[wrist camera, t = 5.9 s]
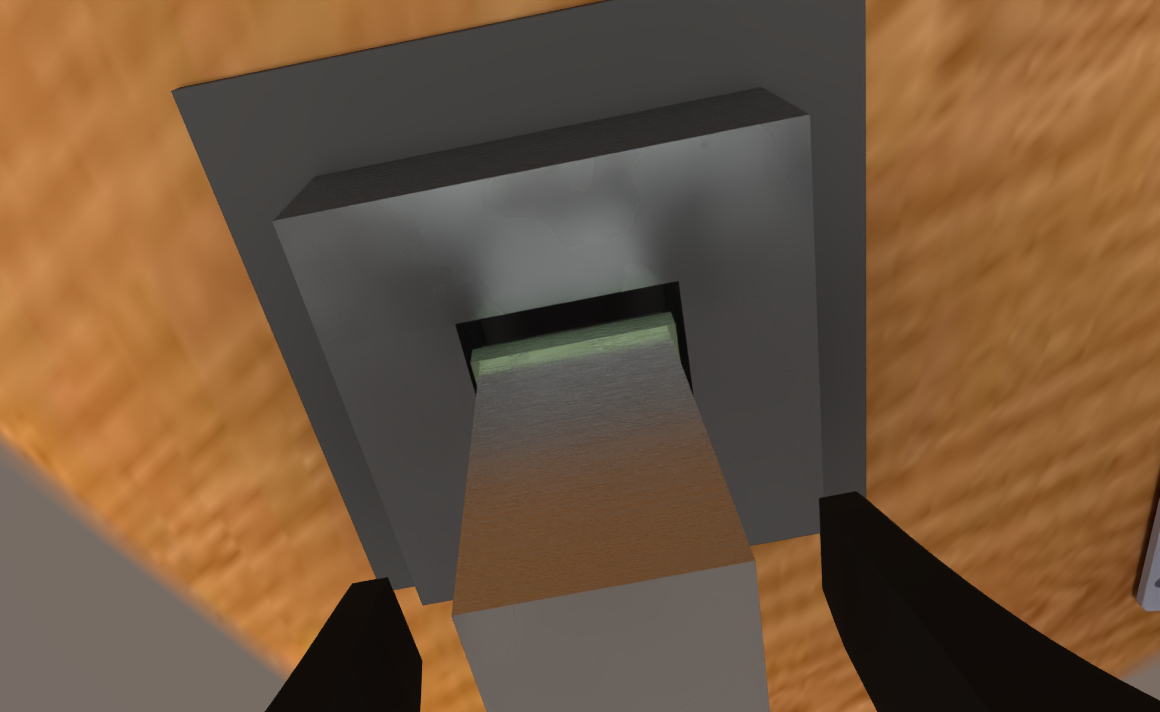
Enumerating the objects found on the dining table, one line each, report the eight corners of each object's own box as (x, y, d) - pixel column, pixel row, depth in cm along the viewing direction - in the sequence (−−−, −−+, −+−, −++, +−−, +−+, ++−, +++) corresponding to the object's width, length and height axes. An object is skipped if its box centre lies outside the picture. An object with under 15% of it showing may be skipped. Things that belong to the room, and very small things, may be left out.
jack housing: (786, 466, 24) (825, 543, 20) (439, 530, 24) (426, 615, 21) (761, 87, 18) (809, 114, 15) (314, 176, 18) (272, 220, 15)
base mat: (860, 493, 25) (866, 503, 24) (384, 581, 25) (382, 592, 25) (856, -51, 17) (865, -51, 17) (179, 87, 18) (171, 91, 17)
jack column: (689, 461, 18) (784, 757, 12) (516, 494, 19) (510, 804, 12) (667, 303, 16) (766, 550, 10) (473, 340, 17) (436, 609, 10)
